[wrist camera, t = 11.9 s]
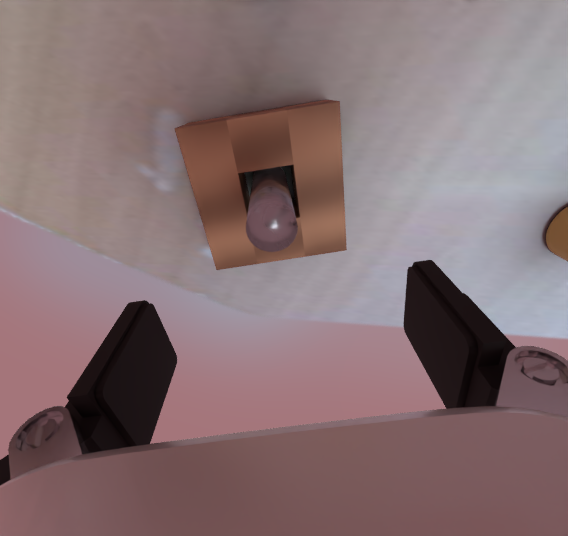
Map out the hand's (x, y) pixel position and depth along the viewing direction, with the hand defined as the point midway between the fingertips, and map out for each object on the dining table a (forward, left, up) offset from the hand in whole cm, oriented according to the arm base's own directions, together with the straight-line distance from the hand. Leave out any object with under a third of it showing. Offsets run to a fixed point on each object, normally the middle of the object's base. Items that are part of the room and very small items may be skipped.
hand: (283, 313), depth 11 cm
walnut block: (0, 0, -21) cm, 21 cm away
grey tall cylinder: (0, 0, -21) cm, 21 cm away
